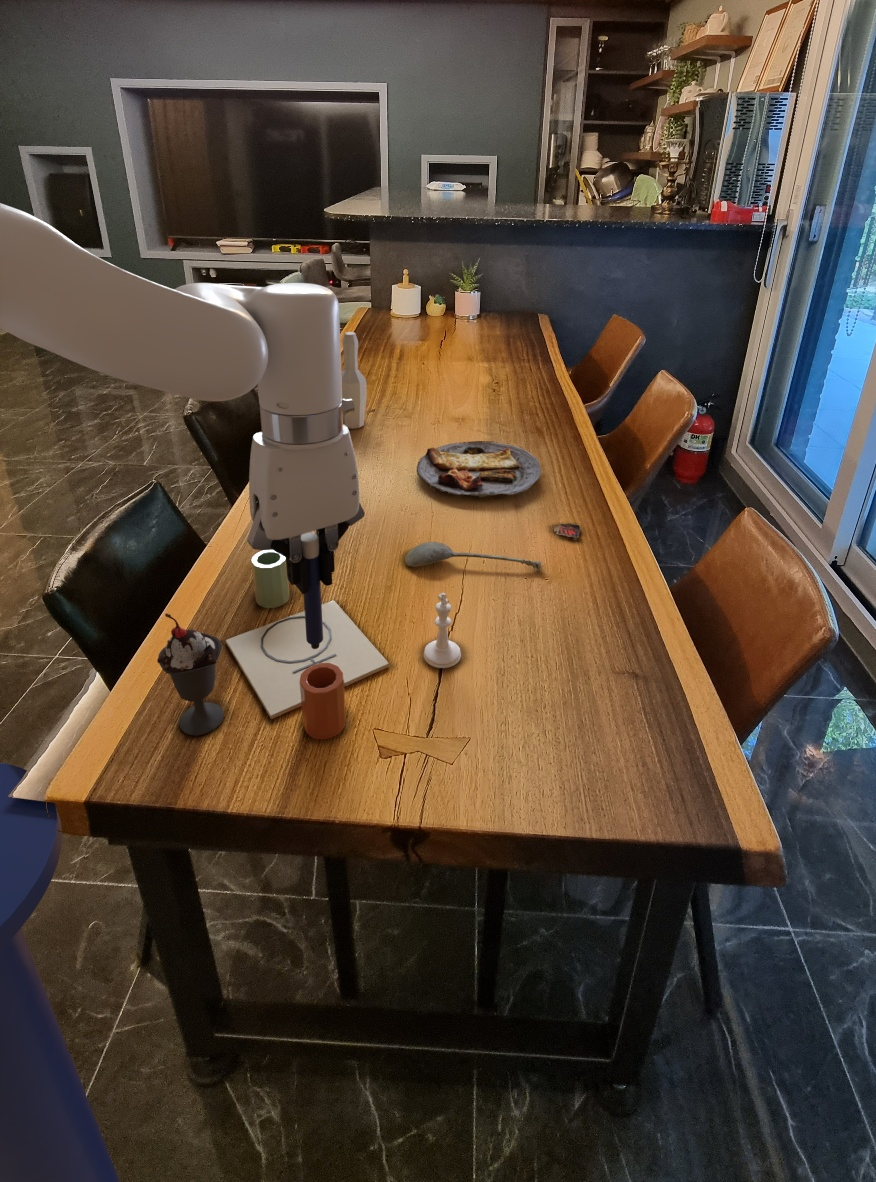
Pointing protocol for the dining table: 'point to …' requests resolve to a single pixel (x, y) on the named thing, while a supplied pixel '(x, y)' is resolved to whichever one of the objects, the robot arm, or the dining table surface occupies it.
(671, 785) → the dining table surface
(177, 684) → the sundae
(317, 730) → the pen pot
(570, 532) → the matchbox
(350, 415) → the low poly bottle
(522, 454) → the food plate
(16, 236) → the robot arm
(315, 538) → the marker
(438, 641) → the chess piece
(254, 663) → the sketch pad
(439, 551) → the soupspoon
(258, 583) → the pen cup
